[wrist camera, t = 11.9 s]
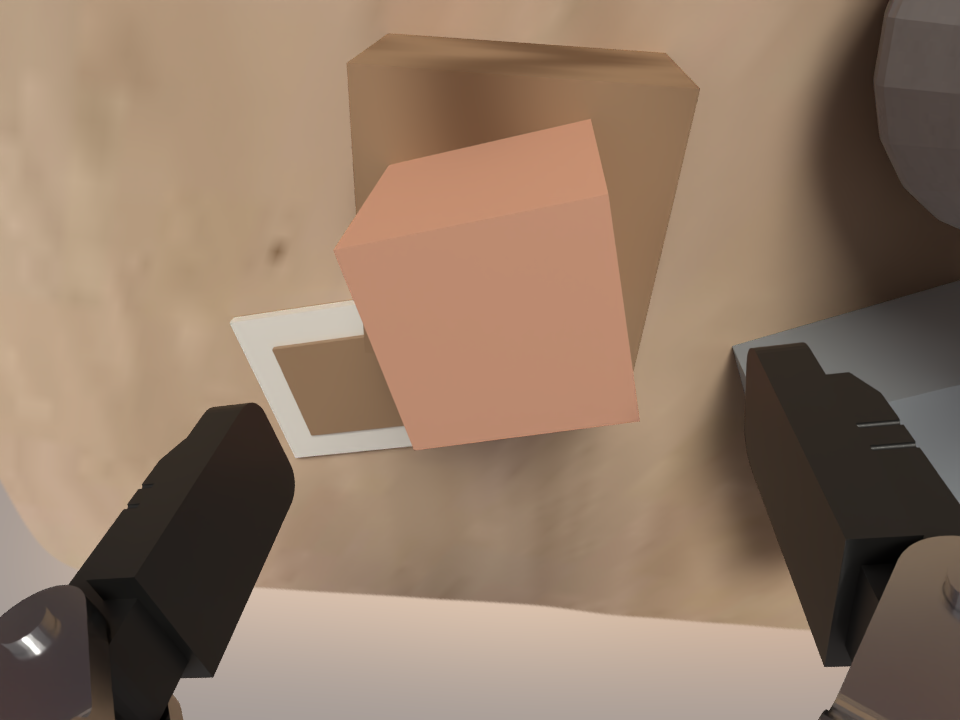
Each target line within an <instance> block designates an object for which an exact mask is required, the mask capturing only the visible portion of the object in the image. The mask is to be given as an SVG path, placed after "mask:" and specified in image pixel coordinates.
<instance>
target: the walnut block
mask: <svg viewBox="0 0 960 720" xmlns="http://www.w3.org/2000/svg"><path fill="white" fill-rule="evenodd" d="M347 75H348V91H349V107H350V123H351V139H352V155H353V171H354V187H355V203H356V215H357V213H358V212H359V210H360V209H361V207H362V205H363V204H364V202H365V201H366V199H367V198H368V196H369V195H370V193H371V192H372V190H373V189H374V187H375V186H376V184H377V182H378V181H379V179H380V178H381V176H382V175H383V173H384V172H385V170H386V169H387V167H388V166H389V165H391V164H396V163H400V162H404V161H409V160H413V159H418V158H422V157H426V156H431V155H435V154H439V153H444V152H448V151H452V150H457V149H461V148H466V147H470V146H474V145H479V144H483V143H487V142H492V141H496V140H500V139H505V138H509V137H514V136H518V135H522V134H527V133H531V132H535V131H540V130H544V129H548V128H553V127H557V126H562V125H566V124H570V123H575V122H579V121H583V120H588V119H591V122H592V126H593V130H594V134H595V139H596V143H597V147H598V151H599V156H600V160H601V164H602V169H603V173H604V177H605V181H606V186H607V190H608V194H609V201H610V209H611V216H612V223H613V230H614V237H615V245H616V252H617V259H618V266H619V274H620V281H621V288H622V295H623V303H624V310H625V317H626V324H627V332H628V339H629V346H630V353H631V361H632V368H633V371H634V367H635V362H636V358H637V354H638V350H639V345H640V341H641V337H642V333H643V329H644V324H645V320H646V316H647V312H648V307H649V303H650V299H651V295H652V290H653V286H654V282H655V278H656V273H657V269H658V265H659V261H660V256H661V252H662V248H663V244H664V239H665V235H666V231H667V227H668V222H669V218H670V214H671V210H672V206H673V201H674V197H675V193H676V189H677V184H678V180H679V176H680V172H681V167H682V163H683V159H684V155H685V150H686V146H687V142H688V138H689V133H690V129H691V125H692V121H693V116H694V112H695V108H696V104H697V99H698V95H699V91H700V88H699V87H698V86H697V85H696V84H695V83H694V82H693V81H692V80H691V79H690V78H689V77H688V76H687V75H686V74H685V73H684V72H683V71H682V69H681V68H680V67H679V66H678V65H677V64H676V63H675V62H674V61H673V60H672V59H671V58H670V57H669V56H668V55H667V54H666V53H658V52H644V51H630V50H616V49H602V48H587V47H573V46H559V45H545V44H531V43H517V42H502V41H488V40H474V39H460V38H446V37H432V36H417V35H403V34H389V33H388V34H387V35H386V36H384V37H383V38H381V39H380V40H379V41H377V42H376V43H374V44H373V45H372V46H370V47H369V48H367V49H366V50H365V51H363V52H362V53H360V54H359V55H357V56H356V57H355V58H353V59H352V60H350V61H349V62H348V63H347ZM363 330H364V346H365V353H374V354H375V352H374V350H373V347H372V345H371V342H370V340H369V337H368V335H367V332H366V330H365V327H364V325H363Z"/></svg>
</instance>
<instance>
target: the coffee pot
mask: <svg viewBox="0 0 960 720" xmlns="http://www.w3.org/2000/svg"><path fill="white" fill-rule="evenodd" d="M873 83H874V92H875V101H876V110H877V119H878V129H879V138H880V140H881V142H882V144H883V146H884V148H885V151H886V153H887V155H888V157H889V159H890V161H891V163H892V165H893V167H894V169H895V171H896V174H897V176H898V178H899V180H900V182H901V184H902V185H903V187H904V188H905V189H906V190H907V191H908V192H909V193H910V194H911V195H912V196H913V197H914V198H915V199H916V200H918V201H919V202H920V203H921V204H922V205H923V206H924V207H925V208H926V209H927V210H928V211H929V212H930V213H931V214H932V215H933V216H934V217H936V218H937V219H938V220H940V221H942V222H944V223H947V224H949V225H951V226H954V227H956V228H958V229H960V0H889V2H888V5H887V7H886V10H885V13H884V19H883V25H882V31H881V37H880V43H879V49H878V55H877V61H876V67H875V74H874V81H873Z"/></svg>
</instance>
